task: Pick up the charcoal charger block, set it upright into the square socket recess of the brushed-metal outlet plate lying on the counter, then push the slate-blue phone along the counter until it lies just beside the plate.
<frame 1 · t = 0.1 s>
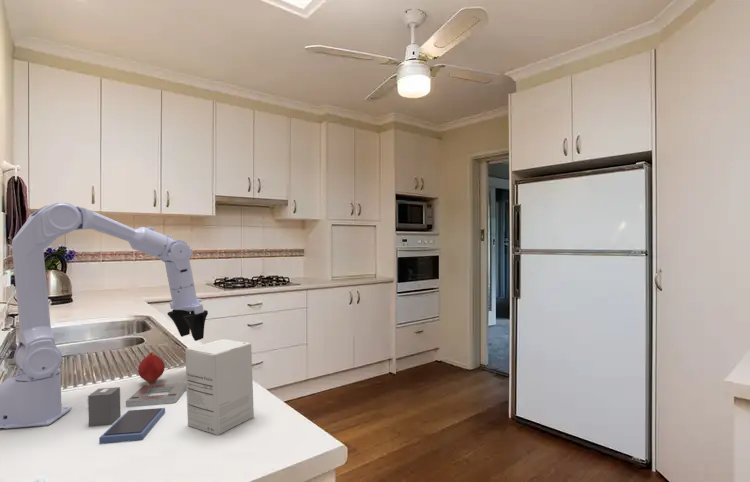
hand: (192, 337, 108), 11 cm above the worktop, tool pointing down, fingers open, 7 cm apart
supplement box: (221, 422, 81), on the worktop
onion: (151, 384, 104), on the worktop
outlet plate: (159, 396, 95), on the worktop
charger: (105, 421, 82), on the worktop
phone: (134, 429, 80), on the worktop
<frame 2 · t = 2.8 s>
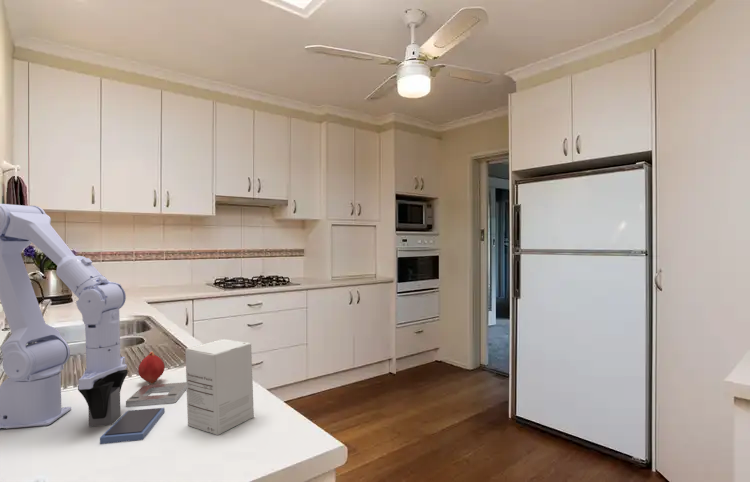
hand: (105, 413, 82), 2 cm above the worktop, tool pointing down, fingers closed on charger, 4 cm apart
charger: (105, 421, 82), on the worktop, touching gripper
everything else where it was.
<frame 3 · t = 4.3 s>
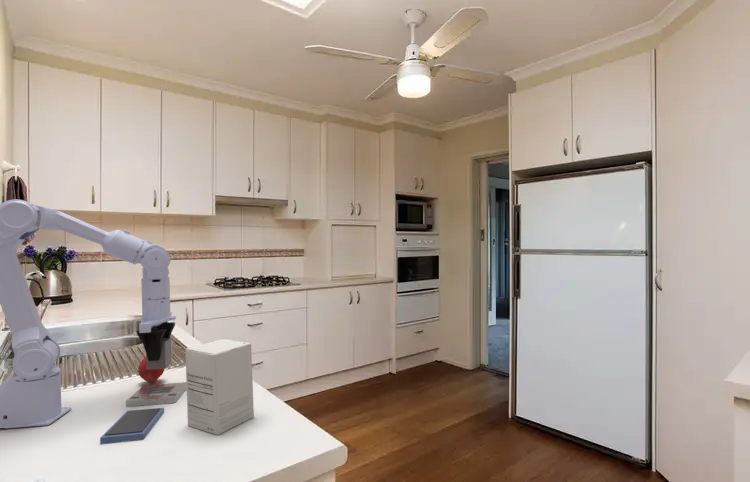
hand: (157, 357, 95), 9 cm above the worktop, tool pointing down, fingers closed on charger, 4 cm apart
charger: (159, 366, 95), point 7 cm above the worktop, touching gripper
everything else where it was.
when the fingers open (3 cm above the worktop, at t = 5.8 s): charger drops 1 cm, resting in outlet plate.
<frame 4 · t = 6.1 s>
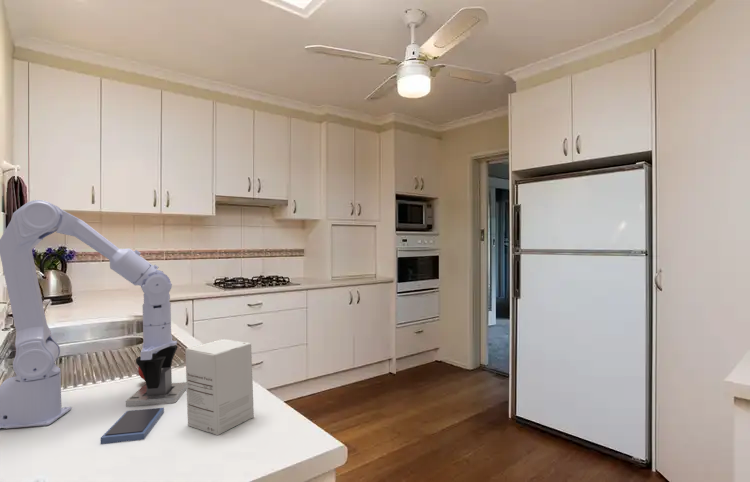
hand: (158, 382, 95), 3 cm above the worktop, tool pointing down, fingers open, 6 cm apart
charger: (159, 396, 95), resting in outlet plate
everything else where it was.
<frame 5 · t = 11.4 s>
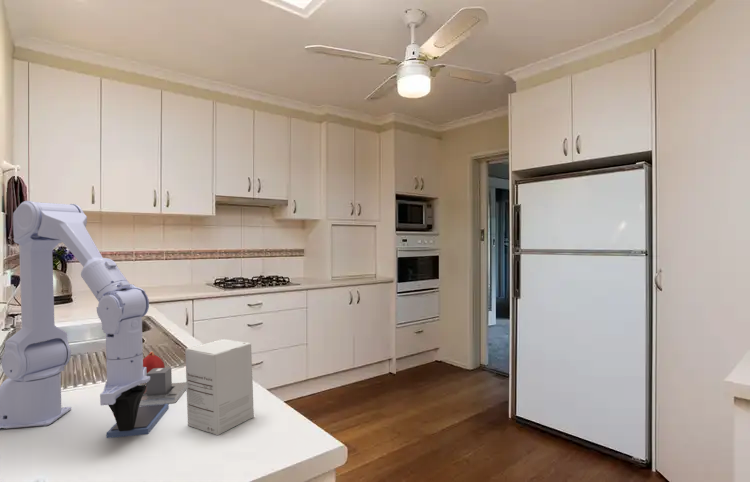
hand: (126, 429, 76), 1 cm above the worktop, tool pointing down, fingers closed
phone: (140, 425, 82), on the worktop, touching gripper
everything else where it was.
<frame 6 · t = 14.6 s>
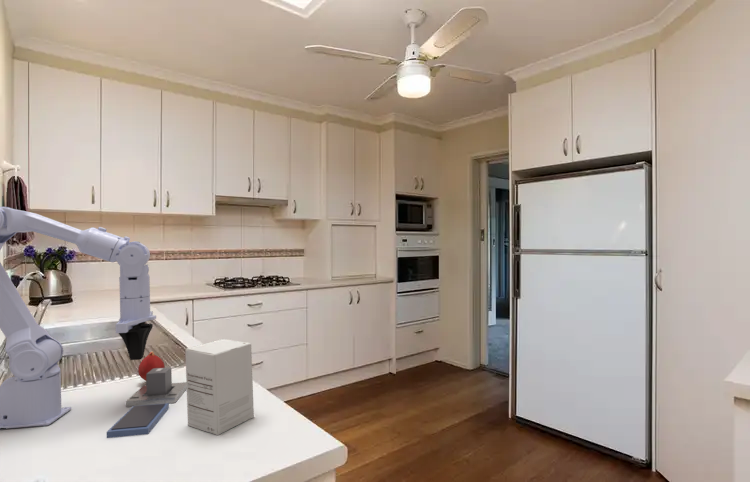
hand: (136, 359, 91), 10 cm above the worktop, tool pointing down, fingers closed
phone: (140, 424, 82), on the worktop
everything else where it was.
at the end: charger 0.2 cm off-centre on the outlet plate, point 0.0 cm above the outlet plate's base; charger tilted 0°; phone inside the target area (1.6 cm from its centre), on the worktop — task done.
